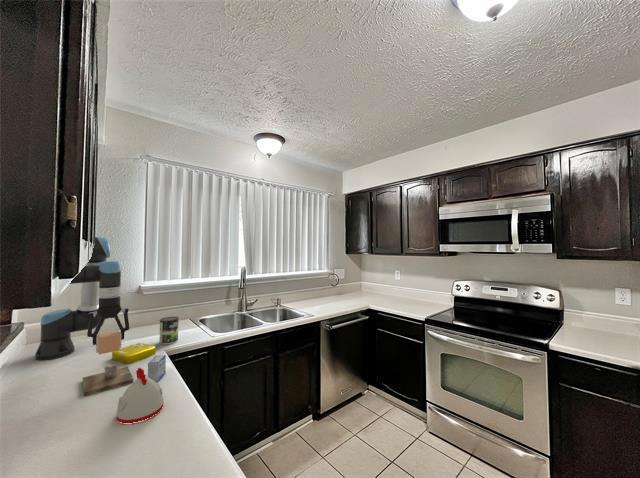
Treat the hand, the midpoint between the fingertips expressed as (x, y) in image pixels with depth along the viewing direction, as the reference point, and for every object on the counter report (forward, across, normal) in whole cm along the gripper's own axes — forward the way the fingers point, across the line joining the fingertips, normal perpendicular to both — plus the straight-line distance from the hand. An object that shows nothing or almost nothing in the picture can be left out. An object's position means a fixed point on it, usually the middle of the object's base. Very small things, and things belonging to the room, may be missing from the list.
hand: (108, 349), depth 117 cm
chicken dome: (+14, +7, -34) cm, 38 cm away
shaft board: (+14, 0, 0) cm, 14 cm away
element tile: (+14, +13, +25) cm, 31 cm away
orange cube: (0, 0, 0) cm, 0 cm away
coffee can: (+14, +32, +36) cm, 51 cm away
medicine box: (+14, +16, -10) cm, 24 cm away
